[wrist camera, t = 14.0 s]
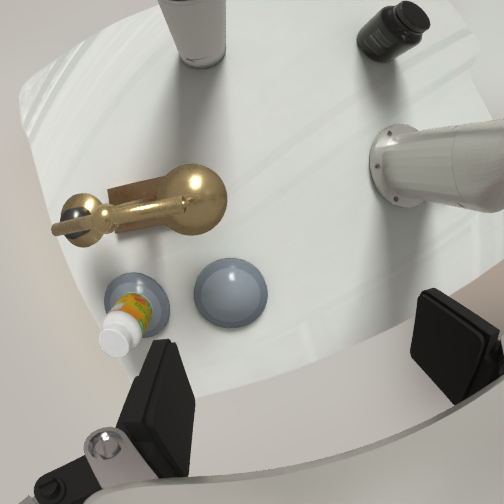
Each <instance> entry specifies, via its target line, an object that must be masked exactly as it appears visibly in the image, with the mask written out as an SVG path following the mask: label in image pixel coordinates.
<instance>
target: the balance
mask: <svg viewBox="0 0 504 504" xmlns="http://www.w3.org/2000/svg"><path fill="white" fill-rule="evenodd" d="M107 190H108V197H109V203H110V204H102V203H101V202H100V201H99V200H98V199H97V198H96V197H95V196H93V195H91V194H87V193H81V194H76V195H74V196H72V197H70V198H69V199H68V200H67V201H66V203H65V204H64V206H63V209H62V212H61V219H60V222H59V223H55V224H53V225H52V228H51V229H52V230H51V231H52V234H53V235H54V236H60V235H64V236H65V237H66V238H67V239H68V240H69V241H70V242H71V243H72V244H73V245H75V246H78V247H89V246H91V245H93V244H95V243H97V242H98V241H99V240H100V239H101V238H102V236H103V234H109V233H112V232H113V231H115V233H120V232H125V231H130V230H135V229H141V228H146V227H151V226H157V225H162V224H166V225H167V226H168V227H169V228H171V229H172V230H174V231H175V232H178V233H180V234H183V235H199V234H203V233H206V232H208V231H210V230H211V229H212V228H214V227H215V226H216V225H217V224H218V223H219V222H220V220H221V219H222V217H223V215H224V213H225V210H226V206H227V192H226V188H225V185H224V183H223V181H222V180H221V178H220V177H219V176H218V175H217V174H216V173H215V172H214V171H212V170H211V169H209V168H207V167H205V166H202V165H197V164H188V165H183V166H180V167H177V168H175V169H174V170H172V171H171V172H170V173H168V174H167V175H166V176H163V177H158V178H154V179H149V180H145V181H140V182H136V183H131V184H127V185H123V186H119V187H115V188H111V189H107Z"/></svg>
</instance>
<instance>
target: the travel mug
mask: <svg viewBox="0 0 504 504" xmlns="http://www.w3.org/2000/svg"><path fill="white" fill-rule="evenodd" d="M158 2H159V5H160V7H161V10H162V12H163V15H164V17H165V20H166V22H167V25H168V27H169V30H170V32H171V34H172V37H173V39H174V42H175V44H176V47H177V49H178V52H179V54H180V57H181V59H182V61H183V62H184V63H185V64H187V65H188V66H190V67H193V68H208V67H211V66H213V65H215V64H217V63H218V62H219V61H220V60H221V59H222V58H223V57H224V55H225V52H226V0H158Z"/></svg>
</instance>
